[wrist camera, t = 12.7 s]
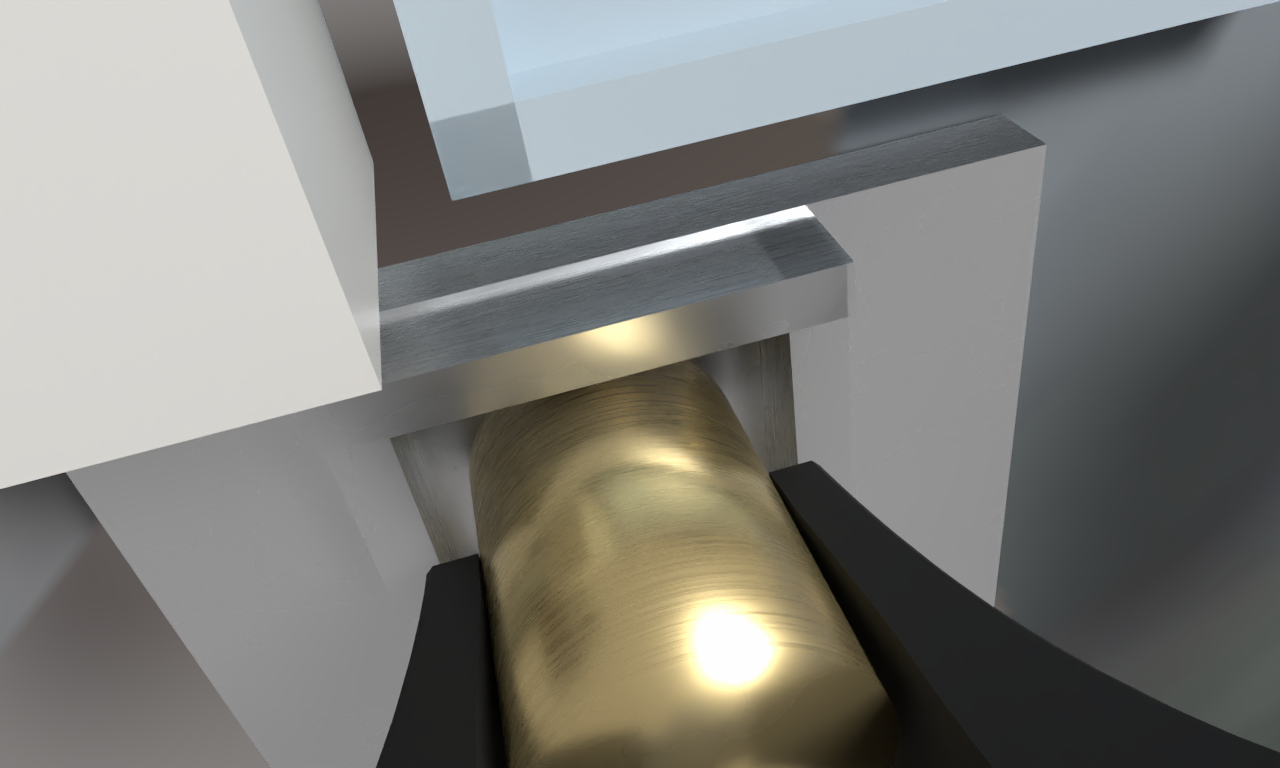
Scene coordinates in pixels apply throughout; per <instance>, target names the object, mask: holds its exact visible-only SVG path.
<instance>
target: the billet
mask: <svg viewBox="0 0 1280 768" xmlns="http://www.w3.org/2000/svg"><path fill="white" fill-rule="evenodd" d="M469 479H470V488H471V495H472V503H473V510H474V518H475V525H476V533H477V540H478V548H479V555H480V561H481V569H482V576H483V584H484V591H485V599H486V606H487V614H488V622H489V630H490V638H491V646H492V653H493V661H494V668H495V676H496V683H497V691H498V698H499V706H500V714H501V721H502V729H503V736H504V744H505V751H506V759H507V766H508V768H891V767H892V765H893V763H894V760H895V756H896V752H897V748H898V738H899V727H898V720H897V714H896V712H895V709H894V707H893V704H892V702H891V700H890V698H889V696H888V694H887V692H886V691H885V689H884V687H883V685H882V683H881V681H880V679H879V678H878V676H877V674H876V672H875V670H874V668H873V667H872V665H871V663H870V661H869V659H868V657H867V655H866V654H865V652H864V650H863V648H862V646H861V644H860V643H859V641H858V639H857V637H856V635H855V633H854V632H853V630H852V628H851V626H850V624H849V622H848V620H847V619H846V617H845V615H844V613H843V611H842V609H841V608H840V606H839V604H838V602H837V600H836V598H835V597H834V595H833V593H832V591H831V589H830V587H829V585H828V584H827V582H826V580H825V578H824V576H823V574H822V573H821V571H820V569H819V567H818V565H817V563H816V562H815V560H814V558H813V556H812V554H811V552H810V550H809V549H808V547H807V545H806V543H805V541H804V539H803V538H802V536H801V534H800V532H799V530H798V528H797V526H796V525H795V523H794V521H793V519H792V517H791V515H790V514H789V512H788V510H787V508H786V506H785V504H784V503H783V501H782V499H781V497H780V495H779V493H778V491H777V490H776V488H775V486H774V484H773V482H772V480H771V479H770V477H769V475H768V473H767V471H766V469H765V468H764V466H763V464H762V462H761V460H760V458H759V456H758V455H757V453H756V451H755V449H754V447H753V445H752V444H751V442H750V440H749V438H748V436H747V434H746V433H745V431H744V429H743V427H742V425H741V423H740V421H739V420H738V418H737V416H736V414H735V412H734V410H733V409H732V407H731V405H730V403H729V401H728V399H727V398H726V396H725V395H724V393H723V391H722V390H721V388H720V387H719V386H718V384H717V383H716V382H715V381H714V380H713V379H712V378H711V377H710V376H709V375H708V374H707V373H706V372H704V371H703V370H702V369H701V368H699V367H698V366H697V365H695V364H693V363H691V362H690V361H688V360H684V361H680V362H676V363H672V364H669V365H665V366H661V367H657V368H654V369H650V370H646V371H642V372H638V373H635V374H631V375H627V376H623V377H620V378H616V379H612V380H608V381H604V382H601V383H597V384H593V385H589V386H586V387H582V388H578V389H574V390H570V391H567V392H563V393H559V394H555V395H552V396H548V397H544V398H540V399H536V400H533V401H529V402H525V403H521V404H518V405H514V406H510V407H506V408H502V409H499V410H495V411H491V412H489V413H488V414H487V415H486V417H485V419H484V421H483V423H482V424H481V426H480V428H479V430H478V433H477V435H476V438H475V440H474V443H473V447H472V451H471V456H470V464H469Z"/></svg>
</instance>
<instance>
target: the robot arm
mask: <svg viewBox="0 0 1280 768" xmlns="http://www.w3.org/2000/svg"><path fill="white" fill-rule="evenodd" d="M769 477H770V479H771V480H772V482H773V484H774V486H775V488H776V490H777V491H778V493H779V495H780V497H781V499H782V501H783V503H784V504H785V506H786V508H787V510H788V512H789V514H790V515H791V517H792V519H793V521H794V523H795V525H796V526H797V528H798V530H799V532H800V534H801V536H802V538H803V539H804V541H805V543H806V545H807V547H808V549H809V550H810V552H811V554H812V556H813V558H814V560H815V562H816V563H817V565H818V567H819V569H820V571H821V573H822V574H823V576H824V578H825V580H826V582H827V584H828V585H829V587H830V589H831V591H832V593H833V595H834V597H835V598H836V600H837V602H838V604H839V606H840V608H841V609H842V611H843V613H844V615H845V617H846V619H847V620H848V622H849V624H850V626H851V628H852V630H853V632H854V633H855V635H856V637H857V639H858V641H859V643H860V644H861V646H862V648H863V650H864V652H865V654H866V655H867V657H868V659H869V661H870V663H871V665H872V667H873V668H874V670H875V672H876V674H877V676H878V678H879V679H880V681H881V683H882V685H883V687H884V689H885V691H886V692H887V694H888V696H889V698H890V700H891V702H892V704H893V707H894V709H895V712H896V714H897V720H898V727H899V738H898V748H897V752H896V756H895V760H894V763H893V765H892V767H891V768H1280V753H1279V752H1277V751H1274V750H1272V749H1269V748H1266V747H1264V746H1261V745H1259V744H1256V743H1253V742H1251V741H1248V740H1246V739H1243V738H1240V737H1238V736H1235V735H1233V734H1231V733H1228V732H1226V731H1224V730H1221V729H1219V728H1217V727H1215V726H1212V725H1210V724H1208V723H1206V722H1203V721H1201V720H1199V719H1196V718H1194V717H1192V716H1190V715H1187V714H1185V713H1183V712H1181V711H1178V710H1176V709H1174V708H1172V707H1170V706H1168V705H1166V704H1164V703H1162V702H1160V701H1158V700H1156V699H1154V698H1152V697H1150V696H1148V695H1146V694H1144V693H1142V692H1141V691H1139V690H1137V689H1135V688H1133V687H1131V686H1129V685H1127V684H1125V683H1123V682H1121V681H1119V680H1117V679H1115V678H1113V677H1111V676H1109V675H1107V674H1105V673H1103V672H1101V671H1099V670H1097V669H1095V668H1093V667H1092V666H1090V665H1088V664H1086V663H1085V662H1083V661H1081V660H1079V659H1078V658H1076V657H1074V656H1072V655H1070V654H1069V653H1067V652H1065V651H1063V650H1062V649H1060V648H1058V647H1056V646H1055V645H1053V644H1051V643H1050V642H1048V641H1046V640H1045V639H1043V638H1042V637H1040V636H1038V635H1037V634H1035V633H1033V632H1032V631H1030V630H1029V629H1027V628H1025V627H1024V626H1022V625H1020V624H1019V623H1017V622H1016V621H1014V620H1013V619H1011V618H1010V617H1008V616H1007V615H1005V614H1004V613H1002V612H1001V611H999V610H998V609H996V608H995V607H993V606H992V605H990V604H989V603H987V602H986V601H984V600H983V599H982V598H980V597H979V596H977V595H976V594H974V593H973V592H972V591H970V590H969V589H967V588H966V587H965V586H963V585H962V584H960V583H959V582H958V581H956V580H955V579H953V578H952V577H951V576H949V575H948V574H947V573H945V572H944V571H943V570H941V569H940V568H939V567H937V566H936V565H935V564H934V563H932V562H931V561H930V560H928V559H927V558H926V557H925V556H923V555H922V554H921V553H920V552H918V551H917V550H916V549H915V548H913V547H912V546H911V545H910V544H908V543H907V542H906V541H905V540H903V539H902V538H901V537H900V536H898V535H897V534H896V533H895V532H893V531H892V530H891V529H890V528H889V527H887V526H886V525H885V524H884V523H883V522H882V521H880V520H879V519H878V518H877V517H876V516H875V515H874V514H872V513H871V512H870V511H869V510H868V509H867V508H865V507H864V506H863V505H862V504H861V503H860V502H859V501H858V500H856V499H855V498H854V497H853V496H852V495H851V494H850V493H849V492H848V491H847V490H845V489H844V488H843V487H842V486H841V485H840V484H839V483H838V482H837V481H836V480H835V479H834V478H833V477H831V476H830V475H829V474H828V473H827V472H826V471H825V470H824V469H823V468H822V467H821V466H820V465H819V464H817V463H815V462H813V461H812V460H811V461H808V462H804V463H801V464H797V465H793V466H790V467H786V468H783V469H779V470H775V471H772V472H769ZM376 768H508V766H507V759H506V751H505V744H504V736H503V729H502V721H501V714H500V706H499V698H498V691H497V683H496V676H495V668H494V661H493V653H492V646H491V638H490V630H489V622H488V614H487V606H486V599H485V591H484V584H483V576H482V569H481V561H480V558H479V555H478V553H477V554H474V555H470V556H467V557H463V558H460V559H456V560H452V561H449V562H445V563H442V564H438V565H434V566H432V568H431V569H430V570H429V572H428V573H427V574H426V582H425V590H424V596H423V601H422V607H421V612H420V617H419V622H418V627H417V631H416V635H415V640H414V644H413V648H412V652H411V656H410V660H409V664H408V667H407V671H406V674H405V678H404V681H403V685H402V689H401V692H400V696H399V699H398V703H397V706H396V710H395V713H394V716H393V719H392V722H391V725H390V728H389V731H388V734H387V737H386V740H385V743H384V746H383V748H382V751H381V754H380V757H379V760H378V763H377V766H376Z"/></svg>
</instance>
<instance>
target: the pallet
mask: <svg viewBox="0 0 1280 768" xmlns="http://www.w3.org/2000/svg"><path fill="white" fill-rule="evenodd" d="M1046 147H1047V144H1045V143H1044V142H1042V141H1041V140H1039V139H1038V138H1036V137H1035V136H1033V135H1032V134H1030V133H1029V132H1027V131H1026V130H1024V129H1023V128H1021V127H1020V126H1018V125H1017V124H1015V123H1014V122H1012V121H1011V120H1009V119H1008V118H1006V117H1005V116H1003V115H1002V114H1001V115H997V116H993V117H989V118H985V119H981V120H977V121H973V122H969V123H965V124H961V125H957V126H953V127H949V128H945V129H941V130H937V131H933V132H928V133H924V134H920V135H916V136H912V137H908V138H904V139H900V140H896V141H892V142H888V143H884V144H880V145H876V146H872V147H868V148H864V149H860V150H856V151H852V152H847V153H843V154H839V155H835V156H831V157H827V158H823V159H819V160H815V161H811V162H807V163H803V164H799V165H795V166H791V167H787V168H783V169H779V170H775V171H771V172H767V173H763V174H759V175H755V176H751V177H747V178H742V179H739V180H734V181H730V182H726V183H722V184H718V185H714V186H710V187H706V188H702V189H698V190H694V191H690V192H686V193H682V194H678V195H673V196H670V197H665V198H662V199H657V200H653V201H649V202H645V203H641V204H637V205H633V206H629V207H625V208H621V209H617V210H613V211H609V212H605V213H601V214H597V215H592V216H589V217H584V218H580V219H577V220H572V221H568V222H565V223H560V224H556V225H552V226H548V227H544V228H540V229H536V230H532V231H528V232H524V233H520V234H516V235H512V236H507V237H503V238H499V239H495V240H491V241H487V242H483V243H479V244H475V245H471V246H467V247H463V248H459V249H455V250H451V251H447V252H443V253H439V254H435V255H431V256H426V257H422V258H418V259H414V260H411V261H406V262H403V263H398V264H394V265H390V266H386V267H382V268H378V296H379V323H380V349H381V376H382V390H380V391H376V392H372V393H368V394H365V395H361V396H357V397H353V398H349V399H345V400H341V401H338V402H334V403H330V404H326V405H322V406H318V407H314V408H311V409H307V410H303V411H299V412H295V413H291V414H287V415H284V416H280V417H276V418H272V419H268V420H264V421H261V422H257V423H253V424H249V425H245V426H241V427H237V428H234V429H230V430H226V431H222V432H218V433H214V434H210V435H207V436H203V437H199V438H195V439H191V440H187V441H183V442H180V443H176V444H172V445H168V446H164V447H160V448H156V449H153V450H149V451H145V452H141V453H137V454H133V455H129V456H126V457H122V458H118V459H114V460H110V461H106V462H103V463H99V464H95V465H91V466H87V467H83V468H79V469H76V470H72V471H68V472H66V474H67V475H68V477H69V478H70V479H71V481H72V482H73V484H74V485H75V487H76V488H77V490H78V491H79V493H80V494H81V495H82V497H83V498H84V500H85V501H86V503H87V504H88V506H89V507H90V508H91V510H92V511H93V513H94V514H95V516H96V517H97V519H98V520H99V521H100V523H101V524H102V526H103V527H104V529H105V530H106V532H107V533H108V534H109V536H110V537H111V539H112V540H113V542H114V543H115V545H116V546H117V547H118V549H119V550H120V552H121V553H122V555H123V556H124V558H125V559H126V560H127V562H128V563H129V565H130V566H131V568H132V569H133V570H134V572H135V574H136V575H137V576H138V578H139V579H140V581H141V582H142V584H143V585H144V587H145V588H146V589H147V591H148V592H149V594H150V595H151V597H152V598H153V599H154V601H155V602H156V604H157V605H158V607H159V608H160V610H161V611H162V613H163V614H164V615H165V617H166V618H167V620H168V621H169V623H170V624H171V626H172V627H173V628H174V630H175V631H176V633H177V634H178V636H179V637H180V638H181V640H182V641H183V643H184V644H185V646H186V647H187V649H188V650H189V651H190V653H191V654H192V656H193V657H194V658H195V660H196V661H197V663H198V665H199V666H200V668H201V669H202V670H203V672H204V673H205V675H206V676H207V678H208V679H209V680H210V682H211V683H212V685H213V686H214V688H215V689H216V690H217V692H218V693H219V695H220V696H221V698H222V699H223V701H224V702H225V704H226V705H227V707H228V708H229V709H230V711H231V712H232V714H233V715H234V717H235V718H236V720H237V721H238V722H239V724H240V725H241V727H242V728H243V730H244V731H245V733H246V734H247V735H248V737H249V738H250V740H251V741H252V743H253V744H254V746H255V747H256V749H257V750H258V751H259V753H260V754H261V756H262V757H263V758H264V760H265V762H266V763H267V764H268V766H269V767H270V768H376V766H377V763H378V760H379V757H380V754H381V751H382V748H383V746H384V743H385V740H386V737H387V734H388V731H389V728H390V725H391V722H392V719H393V716H394V713H395V710H396V706H397V703H398V699H399V696H400V692H401V689H402V685H403V681H404V678H405V674H406V671H407V667H408V664H409V660H410V656H411V652H412V648H413V644H414V640H415V635H416V631H417V627H418V622H419V617H420V612H421V607H422V601H423V596H424V590H425V582H426V574H427V573H428V572H429V570H430V569H431V568H432V566H434V565H438V564H442V563H445V562H449V561H452V560H456V559H460V558H463V557H467V556H470V555H474V554H477V553H478V555H479V548H478V540H477V533H476V525H475V518H474V510H473V503H472V495H471V488H470V479H469V464H470V456H471V451H472V447H473V443H474V440H475V438H476V435H477V433H478V430H479V428H480V426H481V424H482V423H483V421H484V419H485V417H486V415H487V414H488V413H489V412H491V411H495V410H499V409H502V408H506V407H510V406H514V405H518V404H521V403H525V402H529V401H533V400H536V399H540V398H544V397H548V396H552V395H555V394H559V393H563V392H567V391H570V390H574V389H578V388H582V387H586V386H589V385H593V384H597V383H601V382H604V381H608V380H612V379H616V378H620V377H623V376H627V375H631V374H635V373H638V372H642V371H646V370H650V369H654V368H657V367H661V366H665V365H669V364H672V363H676V362H680V361H684V360H688V361H690V362H691V363H693V364H695V365H697V366H698V367H699V368H701V369H702V370H703V371H704V372H706V373H707V374H708V375H709V376H710V377H711V378H712V379H713V380H714V381H715V382H716V383H717V384H718V386H719V387H720V388H721V390H722V391H723V393H724V395H725V396H726V398H727V399H728V401H729V403H730V405H731V407H732V409H733V410H734V412H735V414H736V416H737V418H738V420H739V421H740V423H741V425H742V427H743V429H744V431H745V433H746V434H747V436H748V438H749V440H750V442H751V444H752V445H753V447H754V449H755V451H756V453H757V455H758V456H759V458H760V460H761V462H762V464H763V466H764V468H765V469H766V471H767V473H768V475H769V472H772V471H775V470H779V469H783V468H786V467H790V466H793V465H797V464H801V463H804V462H808V461H811V460H812V461H813V462H815V463H817V464H819V465H820V466H821V467H822V468H823V469H824V470H825V471H826V472H827V473H828V474H829V475H830V476H831V477H833V478H834V479H835V480H836V481H837V482H838V483H839V484H840V485H841V486H842V487H843V488H844V489H845V490H847V491H848V492H849V493H850V494H851V495H852V496H853V497H854V498H855V499H856V500H858V501H859V502H860V503H861V504H862V505H863V506H864V507H865V508H867V509H868V510H869V511H870V512H871V513H872V514H874V515H875V516H876V517H877V518H878V519H879V520H880V521H882V522H883V523H884V524H885V525H886V526H887V527H889V528H890V529H891V530H892V531H893V532H895V533H896V534H897V535H898V536H900V537H901V538H902V539H903V540H905V541H906V542H907V543H908V544H910V545H911V546H912V547H913V548H915V549H916V550H917V551H918V552H920V553H921V554H922V555H923V556H925V557H926V558H927V559H928V560H930V561H931V562H932V563H934V564H935V565H936V566H937V567H939V568H940V569H941V570H943V571H944V572H945V573H947V574H948V575H949V576H951V577H952V578H953V579H955V580H956V581H958V582H959V583H960V584H962V585H963V586H965V587H966V588H967V589H969V590H970V591H972V592H973V593H974V594H976V595H977V596H979V597H980V598H982V599H983V600H984V601H986V602H987V603H989V604H990V605H992V606H993V607H994V604H995V595H996V586H997V578H998V569H999V560H1000V551H1001V542H1002V534H1003V525H1004V516H1005V507H1006V498H1007V490H1008V481H1009V472H1010V463H1011V454H1012V446H1013V437H1014V428H1015V419H1016V410H1017V402H1018V393H1019V384H1020V375H1021V367H1022V358H1023V349H1024V340H1025V331H1026V323H1027V314H1028V305H1029V296H1030V287H1031V279H1032V270H1033V261H1034V252H1035V243H1036V235H1037V226H1038V217H1039V208H1040V199H1041V191H1042V182H1043V173H1044V164H1045V155H1046ZM479 558H480V555H479Z"/></svg>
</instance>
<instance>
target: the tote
mask: <svg viewBox="0 0 1280 768" xmlns="http://www.w3.org/2000/svg"><path fill="white" fill-rule="evenodd" d="M1277 1H1280V0H393V2H394V5H395V9H396V12H397V15H398V19H399V22H400V26H401V29H402V32H403V36H404V39H405V43H406V46H407V49H408V53H409V56H410V60H411V63H412V67H413V70H414V73H415V77H416V80H417V84H418V87H419V90H420V94H421V97H422V101H423V104H424V107H425V111H426V114H427V117H428V121H429V125H430V128H431V131H432V134H433V138H434V142H435V145H436V148H437V152H438V155H439V159H440V162H441V165H442V169H443V172H444V175H445V179H446V182H447V186H448V189H449V192H450V196H451V199H452V201H455V200H459V199H463V198H467V197H471V196H475V195H479V194H484V193H488V192H492V191H496V190H500V189H504V188H509V187H512V186H516V185H521V184H525V183H529V182H533V181H537V180H542V179H546V178H550V177H554V176H558V175H562V174H566V173H571V172H575V171H579V170H583V169H587V168H591V167H595V166H599V165H604V164H607V163H612V162H616V161H620V160H624V159H628V158H633V157H637V156H641V155H645V154H649V153H653V152H657V151H661V150H666V149H670V148H673V147H678V146H682V145H686V144H690V143H694V142H698V141H702V140H706V139H711V138H715V137H719V136H723V135H728V134H732V133H736V132H740V131H744V130H748V129H752V128H756V127H761V126H765V125H769V124H773V123H777V122H781V121H785V120H789V119H794V118H798V117H802V116H806V115H810V114H814V113H818V112H823V111H827V110H831V109H835V108H839V107H843V106H847V105H852V104H856V103H860V102H864V101H868V100H872V99H876V98H880V97H885V96H889V95H893V94H897V93H901V92H905V91H909V90H914V89H918V88H922V87H926V86H930V85H934V84H938V83H942V82H947V81H951V80H955V79H959V78H963V77H967V76H971V75H976V74H980V73H984V72H988V71H992V70H996V69H1000V68H1004V67H1009V66H1013V65H1017V64H1021V63H1025V62H1029V61H1033V60H1038V59H1042V58H1046V57H1050V56H1054V55H1058V54H1062V53H1066V52H1071V51H1075V50H1079V49H1083V48H1087V47H1091V46H1095V45H1100V44H1104V43H1108V42H1112V41H1116V40H1120V39H1124V38H1128V37H1133V36H1137V35H1141V34H1145V33H1149V32H1153V31H1157V30H1161V29H1166V28H1170V27H1174V26H1178V25H1182V24H1186V23H1190V22H1195V21H1199V20H1203V19H1207V18H1211V17H1215V16H1219V15H1223V14H1228V13H1232V12H1236V11H1240V10H1244V9H1248V8H1252V7H1257V6H1261V5H1265V4H1269V3H1273V2H1277Z"/></svg>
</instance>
